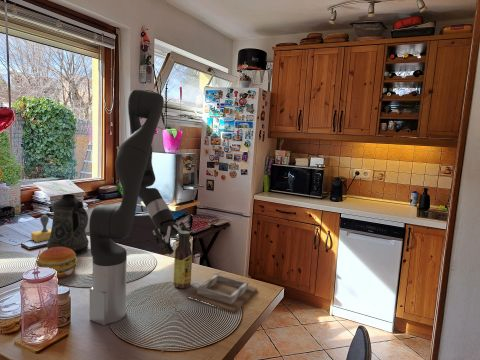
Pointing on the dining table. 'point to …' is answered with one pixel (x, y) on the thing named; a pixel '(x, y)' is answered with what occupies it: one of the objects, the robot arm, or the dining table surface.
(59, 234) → the beer stein
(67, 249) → the burger
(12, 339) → the dining table surface
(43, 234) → the rubber stamp
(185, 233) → the sauce bottle
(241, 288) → the carrier board
